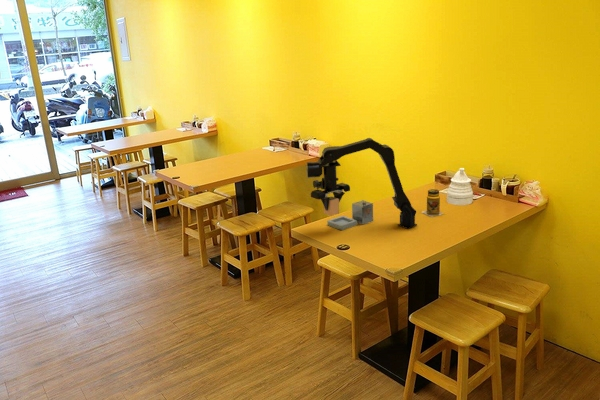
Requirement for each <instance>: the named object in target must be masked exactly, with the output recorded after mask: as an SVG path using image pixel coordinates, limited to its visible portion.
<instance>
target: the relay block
mask: <svg viewBox="0 0 600 400" xmlns="http://www.w3.org/2000/svg"><path fill="white" fill-rule="evenodd" d="M328 197H329V206H328V211H326V210H325V207H324V206H323V214H324V215H326V216H329V217H330V216H335V215H339V214H340V202H339V199H338V198H335V197H334V196H328Z"/></svg>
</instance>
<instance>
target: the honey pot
mask: <svg viewBox="0 0 600 400" xmlns="http://www.w3.org/2000/svg"><path fill="white" fill-rule="evenodd" d="M465 171H466V170H465V168H464V167H460V168H459V170H458V171H456V173H455V174H454V175H453V177H452V178H450V184H449V186H448V188H447V191H446V192H447V193H446V203H448V204H450V205H453V206H454V205H455V206H468V205H471V204H472V203H473V201H474V198H473V197H474V191H473V188H472V185H471V182H472V179H471V178H469V176H468V175H467V174H466V172H465Z"/></svg>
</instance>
